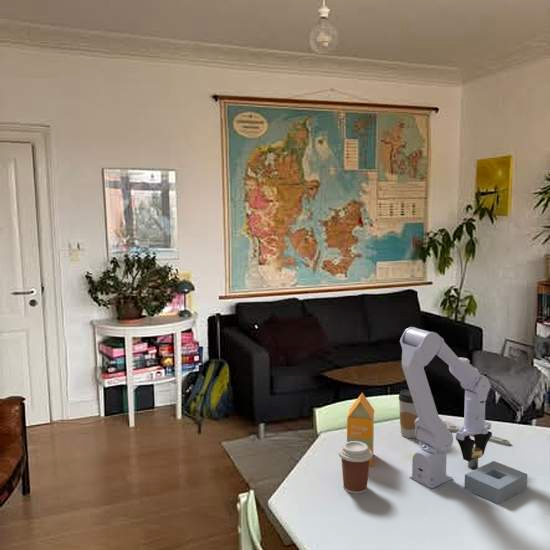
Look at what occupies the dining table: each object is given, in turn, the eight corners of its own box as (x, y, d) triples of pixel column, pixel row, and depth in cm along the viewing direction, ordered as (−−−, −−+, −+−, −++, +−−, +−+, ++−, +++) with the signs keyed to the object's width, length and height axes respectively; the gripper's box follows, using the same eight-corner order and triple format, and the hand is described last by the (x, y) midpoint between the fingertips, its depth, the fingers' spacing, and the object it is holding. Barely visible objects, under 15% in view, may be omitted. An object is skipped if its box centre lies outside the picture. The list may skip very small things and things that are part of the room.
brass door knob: (475, 472, 152) (475, 454, 151) (461, 466, 156) (461, 448, 155) (484, 468, 155) (485, 450, 154) (470, 462, 158) (471, 444, 158)
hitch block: (498, 504, 135) (498, 489, 134) (464, 488, 143) (464, 474, 142) (526, 488, 143) (527, 474, 142) (493, 474, 151) (493, 460, 150)
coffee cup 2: (425, 433, 181) (426, 391, 179) (418, 441, 174) (419, 398, 172) (402, 428, 185) (403, 387, 184) (394, 436, 178) (395, 394, 177)
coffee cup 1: (377, 485, 145) (377, 444, 144) (363, 499, 137) (363, 456, 136) (347, 476, 150) (347, 436, 149) (332, 490, 142) (332, 448, 141)
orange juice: (346, 463, 158) (346, 400, 156) (349, 451, 166) (349, 391, 165) (372, 466, 156) (373, 402, 154) (374, 454, 165) (374, 392, 163)
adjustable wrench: (511, 445, 172) (511, 440, 172) (502, 451, 167) (502, 446, 167) (442, 424, 190) (442, 419, 190) (432, 428, 186) (432, 424, 185)
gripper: (472, 422, 146) (470, 468, 147) (500, 411, 154) (499, 455, 156) (450, 415, 152) (449, 459, 153) (479, 405, 160) (478, 447, 161)
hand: (473, 457), depth 155 cm, fingers open, 6 cm apart
